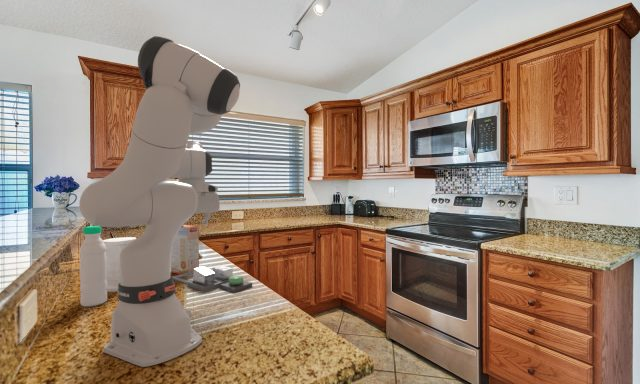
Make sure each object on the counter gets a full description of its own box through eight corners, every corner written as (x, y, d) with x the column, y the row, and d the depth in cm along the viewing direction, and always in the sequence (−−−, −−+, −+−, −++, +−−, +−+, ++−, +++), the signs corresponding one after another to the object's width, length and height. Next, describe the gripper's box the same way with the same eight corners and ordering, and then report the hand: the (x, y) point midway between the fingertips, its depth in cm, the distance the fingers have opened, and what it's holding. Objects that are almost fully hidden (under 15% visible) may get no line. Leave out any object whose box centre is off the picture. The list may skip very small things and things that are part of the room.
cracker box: (200, 273, 134) (199, 225, 134) (187, 277, 129) (186, 227, 129) (180, 269, 142) (179, 223, 142) (168, 272, 137) (167, 225, 136)
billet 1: (213, 285, 114) (214, 273, 113) (203, 288, 111) (205, 275, 110) (202, 278, 118) (203, 266, 117) (192, 281, 115) (194, 268, 114)
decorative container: (119, 281, 124) (118, 236, 124) (145, 282, 123) (144, 237, 122) (93, 291, 113) (92, 241, 113) (122, 292, 111) (121, 242, 111)
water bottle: (93, 308, 97) (91, 228, 96) (74, 306, 98) (72, 227, 98) (112, 300, 104) (111, 225, 103) (94, 298, 105) (93, 224, 105)
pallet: (239, 284, 119) (239, 277, 119) (204, 295, 107) (204, 287, 107) (222, 279, 126) (222, 272, 126) (187, 289, 114) (187, 281, 114)
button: (246, 288, 112) (246, 276, 112) (234, 292, 108) (234, 280, 108) (237, 285, 115) (237, 274, 115) (226, 289, 111) (225, 277, 111)
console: (252, 289, 113) (252, 282, 113) (233, 296, 106) (233, 288, 106) (238, 285, 118) (238, 279, 118) (220, 291, 111) (219, 284, 111)
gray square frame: (217, 279, 126) (217, 274, 126) (188, 287, 116) (188, 282, 116) (200, 274, 133) (200, 269, 133) (172, 281, 124) (172, 276, 124)
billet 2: (232, 281, 119) (232, 268, 119) (223, 283, 116) (223, 270, 116) (221, 278, 123) (221, 265, 123) (212, 280, 120) (212, 267, 120)
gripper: (167, 187, 102) (168, 230, 102) (221, 187, 118) (222, 224, 118) (158, 188, 106) (159, 228, 106) (212, 187, 122) (212, 223, 122)
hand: (192, 226), depth 112 cm, fingers open, 8 cm apart
